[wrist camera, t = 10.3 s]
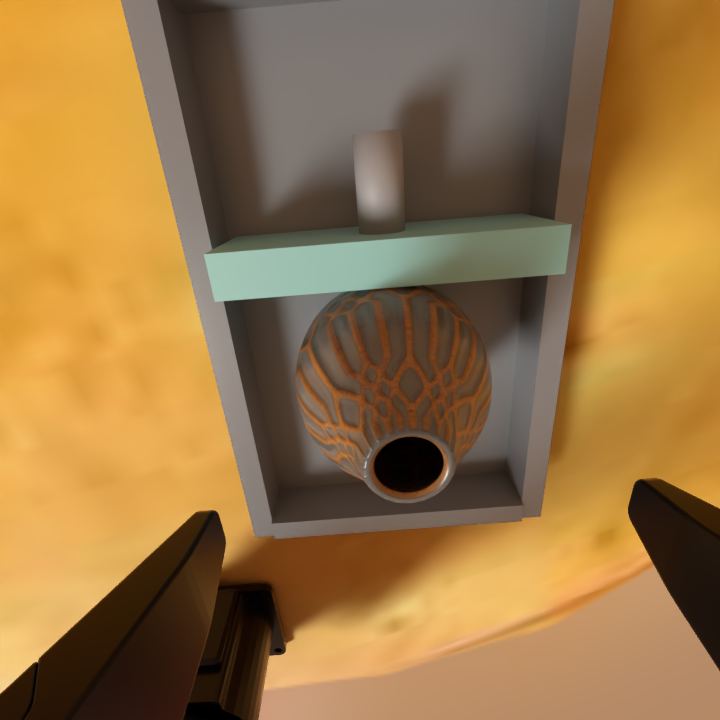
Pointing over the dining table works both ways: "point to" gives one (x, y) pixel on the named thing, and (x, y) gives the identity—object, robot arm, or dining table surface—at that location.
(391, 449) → the vase
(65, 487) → the dining table surface
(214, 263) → the pusher
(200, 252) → the gray rectangular tray
